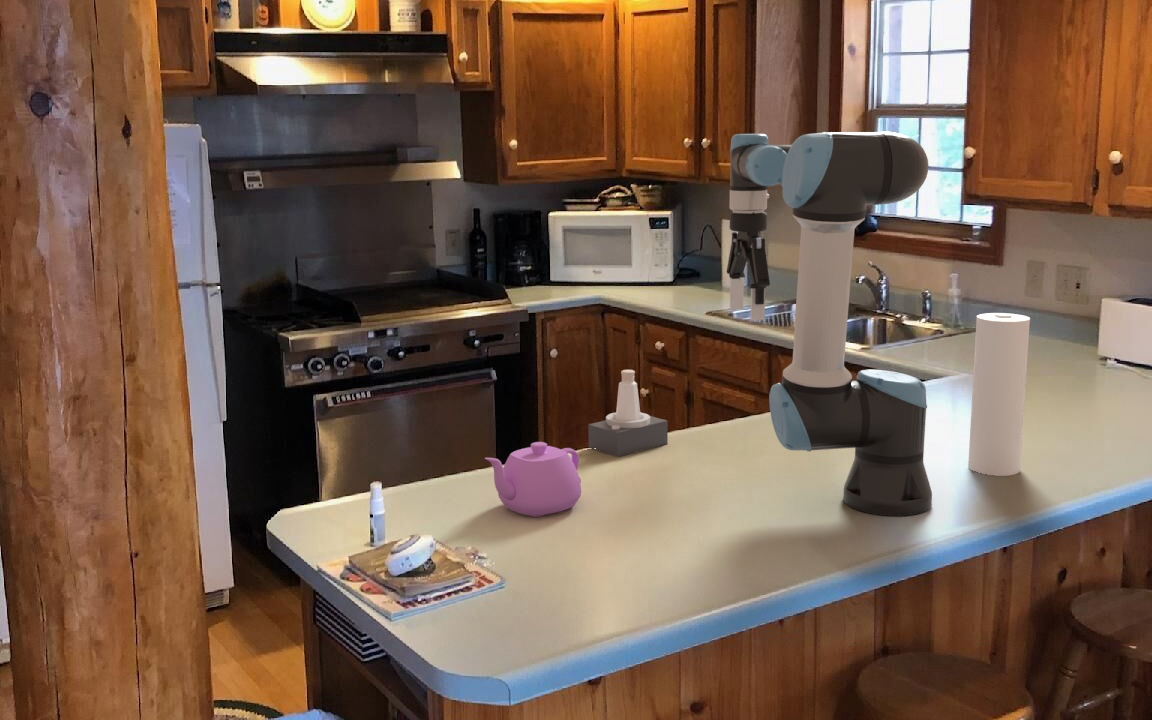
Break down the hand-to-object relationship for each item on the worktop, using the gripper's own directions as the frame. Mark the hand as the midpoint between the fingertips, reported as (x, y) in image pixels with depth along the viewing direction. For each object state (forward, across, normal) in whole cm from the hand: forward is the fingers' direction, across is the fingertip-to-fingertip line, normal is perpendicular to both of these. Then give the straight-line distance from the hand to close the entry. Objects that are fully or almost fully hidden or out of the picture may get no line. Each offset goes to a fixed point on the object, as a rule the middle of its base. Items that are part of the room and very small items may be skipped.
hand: (746, 314), depth 246 cm
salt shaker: (+22, +1, +25) cm, 33 cm away
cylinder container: (+27, -30, -40) cm, 57 cm away
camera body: (+27, +1, +25) cm, 37 cm away
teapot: (+27, -34, +50) cm, 66 cm away
